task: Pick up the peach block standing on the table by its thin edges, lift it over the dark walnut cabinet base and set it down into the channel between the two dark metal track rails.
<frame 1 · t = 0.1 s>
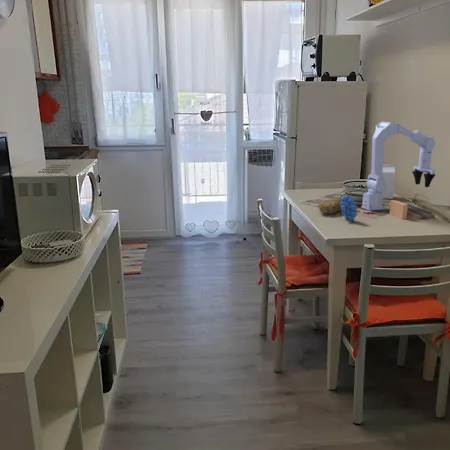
hand: (422, 185, 246), 10 cm above the table, tool pointing down, fingers open, 7 cm apart
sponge: (333, 212, 237), on the table
milk carton: (385, 197, 265), on the table
peach block: (397, 216, 226), on the table
grapes: (346, 220, 221), on the table
track base: (414, 213, 230), on the table
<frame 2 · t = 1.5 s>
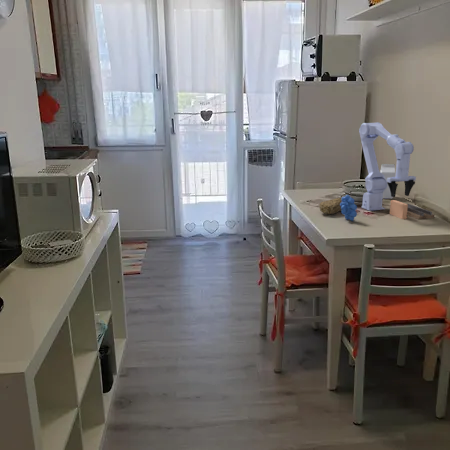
hand: (399, 196, 224), 10 cm above the table, tool pointing down, fingers open, 7 cm apart
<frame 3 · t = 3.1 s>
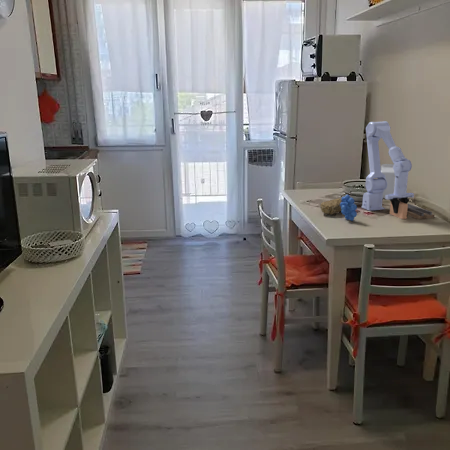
hand: (398, 212, 226), 2 cm above the table, tool pointing down, fingers closed on peach block, 2 cm apart
peach block: (397, 216, 226), on the table, touching gripper
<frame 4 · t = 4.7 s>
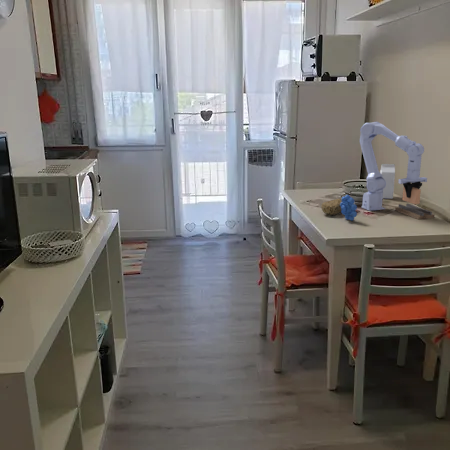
hand: (411, 197, 226), 9 cm above the table, tool pointing down, fingers closed on peach block, 2 cm apart
peach block: (410, 201, 227), point 6 cm above the table, touching gripper
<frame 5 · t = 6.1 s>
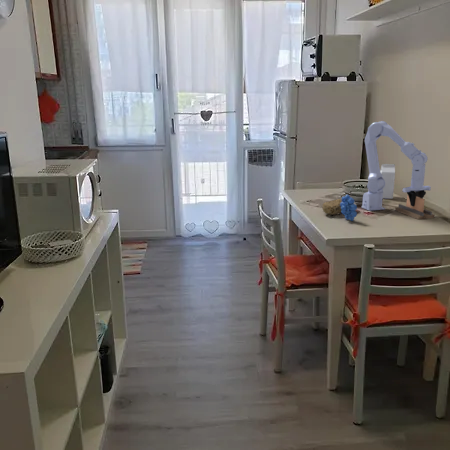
hand: (415, 205, 229), 4 cm above the table, tool pointing down, fingers closed on peach block, 2 cm apart
peach block: (414, 210, 229), point 1 cm above the table, touching gripper, track base
when the fingers open (4 cm above the table, at t = 6.6 s): peach block stays where it is, resting on track base.
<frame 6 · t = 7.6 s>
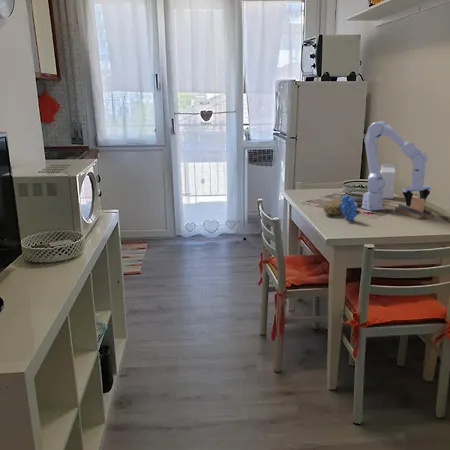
hand: (415, 205, 229), 4 cm above the table, tool pointing down, fingers open, 7 cm apart
peach block: (414, 210, 229), point 1 cm above the table, touching track base
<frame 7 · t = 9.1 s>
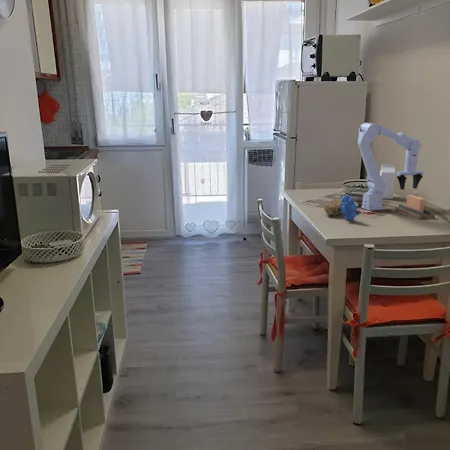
hand: (408, 188, 242), 9 cm above the table, tool pointing down, fingers open, 7 cm apart
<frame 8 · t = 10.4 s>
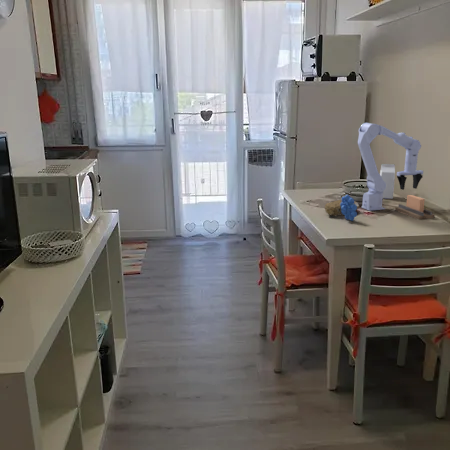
hand: (408, 188, 242), 9 cm above the table, tool pointing down, fingers open, 7 cm apart
at the end: peach block inside the target area on the track base (0.1 cm from its centre), point 1.5 cm above the track base's base; peach block tilted 0°; the gripper is holding nothing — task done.
